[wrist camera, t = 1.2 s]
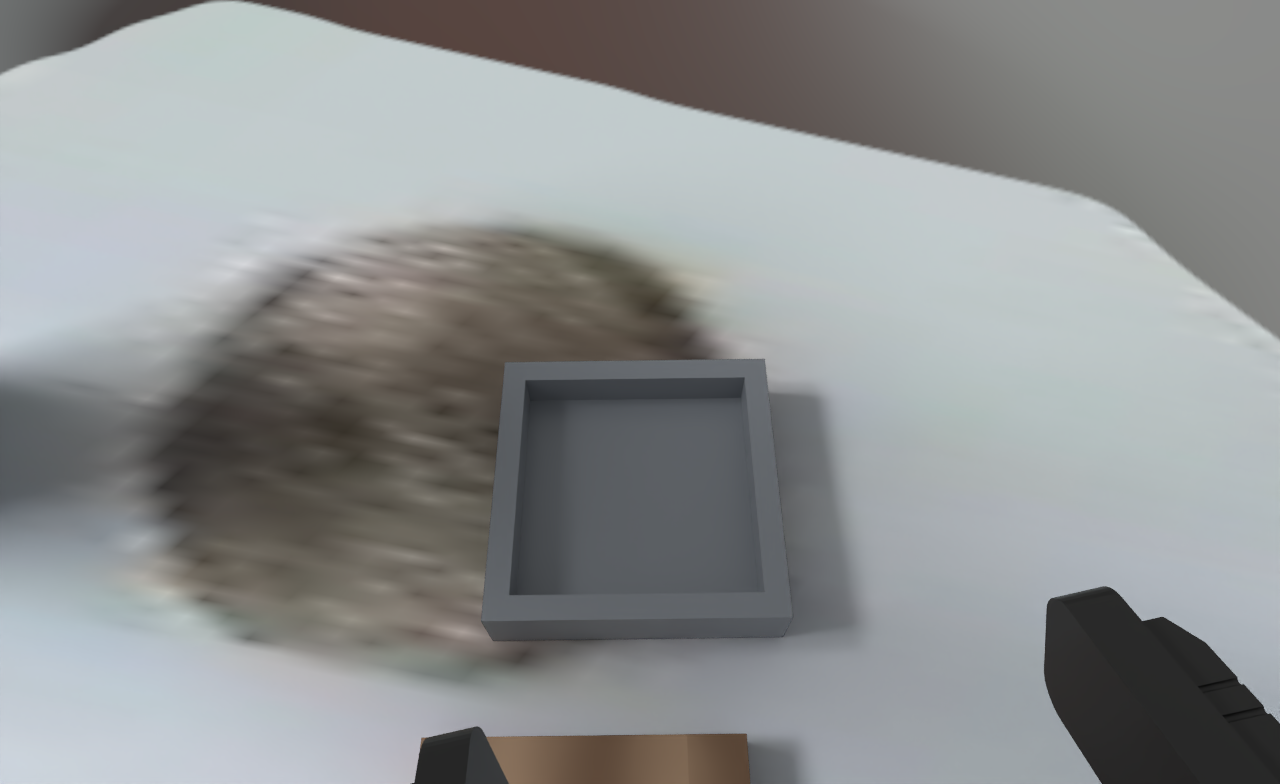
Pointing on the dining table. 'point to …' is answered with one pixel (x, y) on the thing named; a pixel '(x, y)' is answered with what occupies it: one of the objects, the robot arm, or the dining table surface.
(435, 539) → the dining table surface
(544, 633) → the parts tray
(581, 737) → the walnut holder
